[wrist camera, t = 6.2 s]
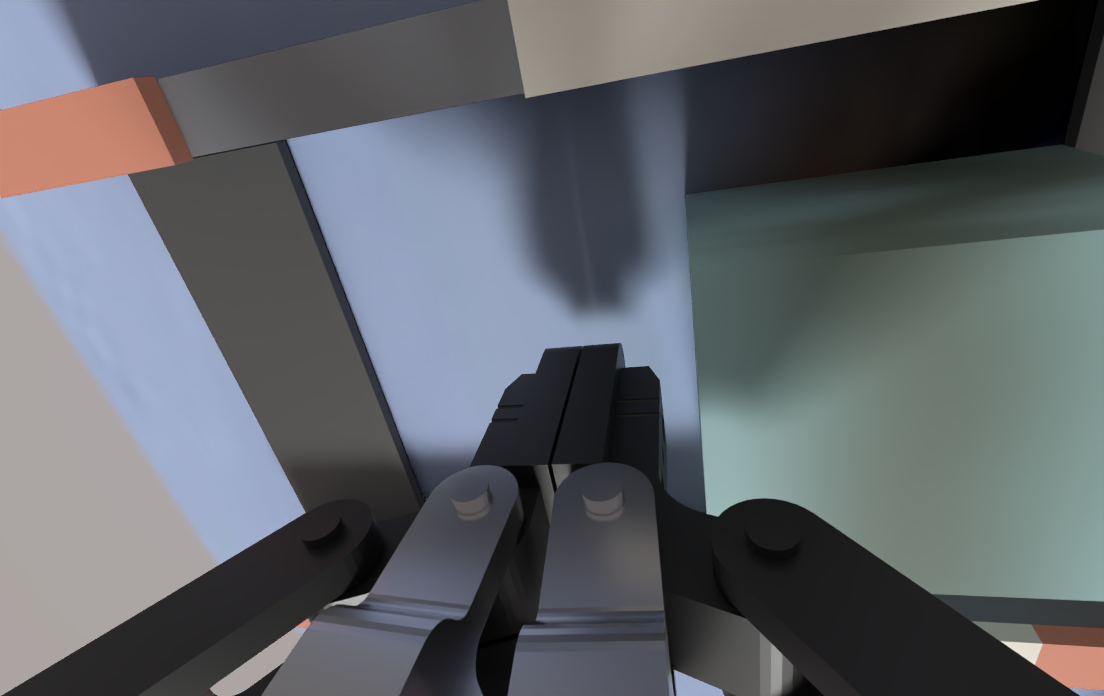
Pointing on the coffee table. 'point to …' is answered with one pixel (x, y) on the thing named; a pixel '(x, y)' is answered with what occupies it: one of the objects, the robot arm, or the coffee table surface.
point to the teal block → (915, 363)
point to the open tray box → (396, 91)
